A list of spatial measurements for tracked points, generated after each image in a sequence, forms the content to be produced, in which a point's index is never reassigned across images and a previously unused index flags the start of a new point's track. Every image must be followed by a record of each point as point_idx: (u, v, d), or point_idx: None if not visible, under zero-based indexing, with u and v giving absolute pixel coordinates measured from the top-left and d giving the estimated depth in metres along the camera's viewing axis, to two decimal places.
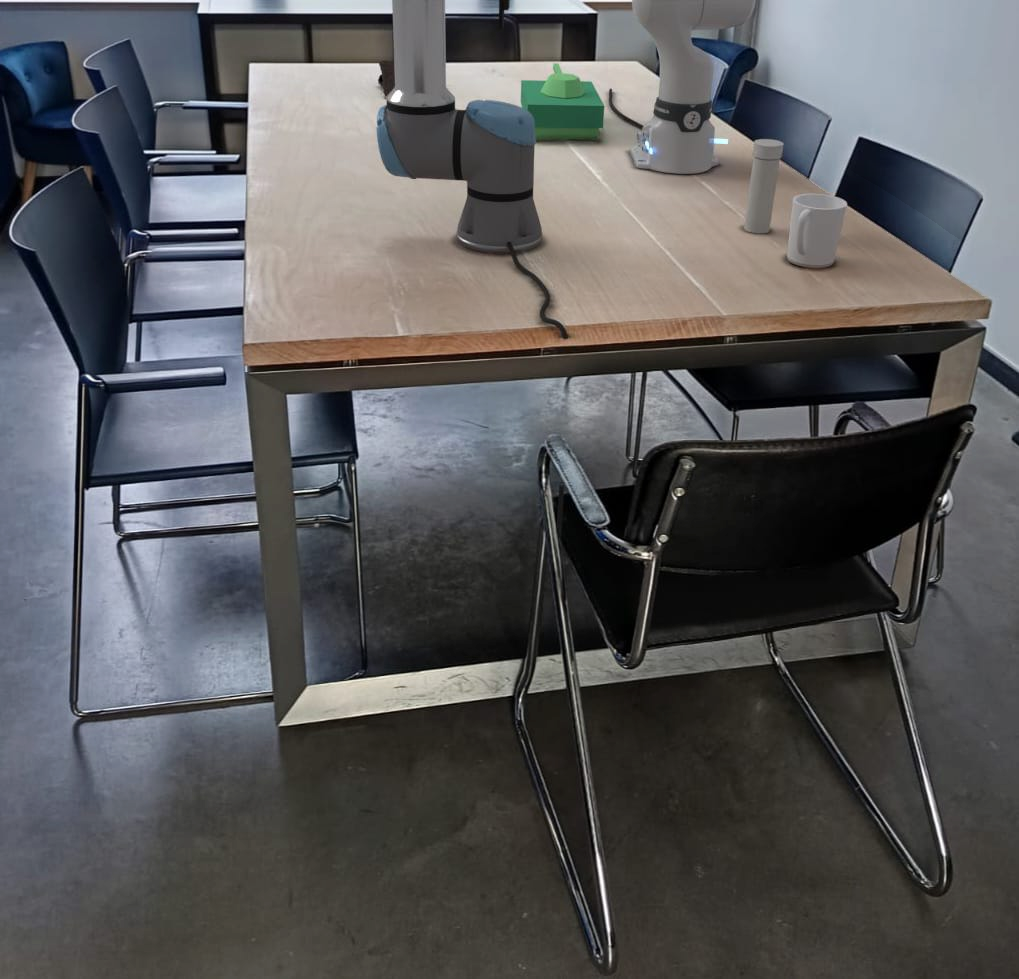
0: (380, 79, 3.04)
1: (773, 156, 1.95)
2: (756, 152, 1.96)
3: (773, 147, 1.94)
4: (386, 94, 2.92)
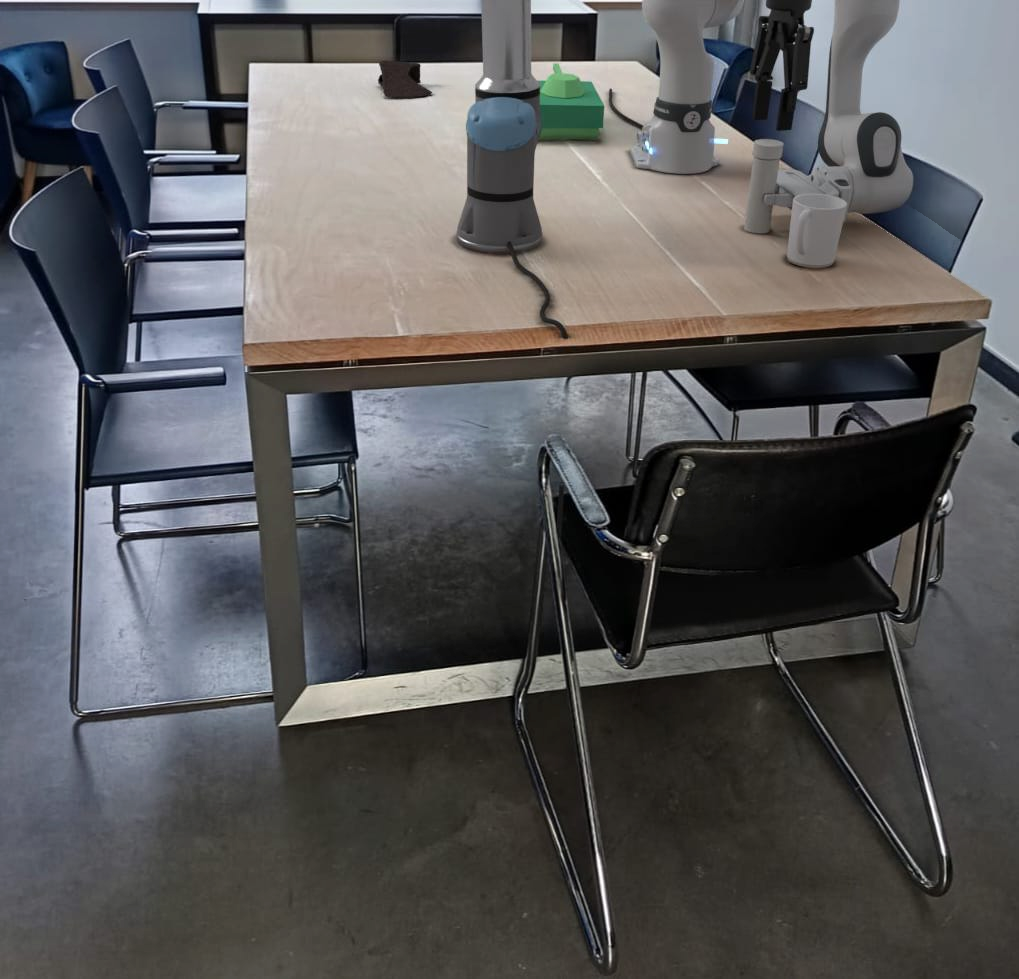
0: (380, 79, 3.04)
1: (773, 156, 1.95)
2: (756, 152, 1.96)
3: (773, 147, 1.94)
4: (386, 94, 2.92)
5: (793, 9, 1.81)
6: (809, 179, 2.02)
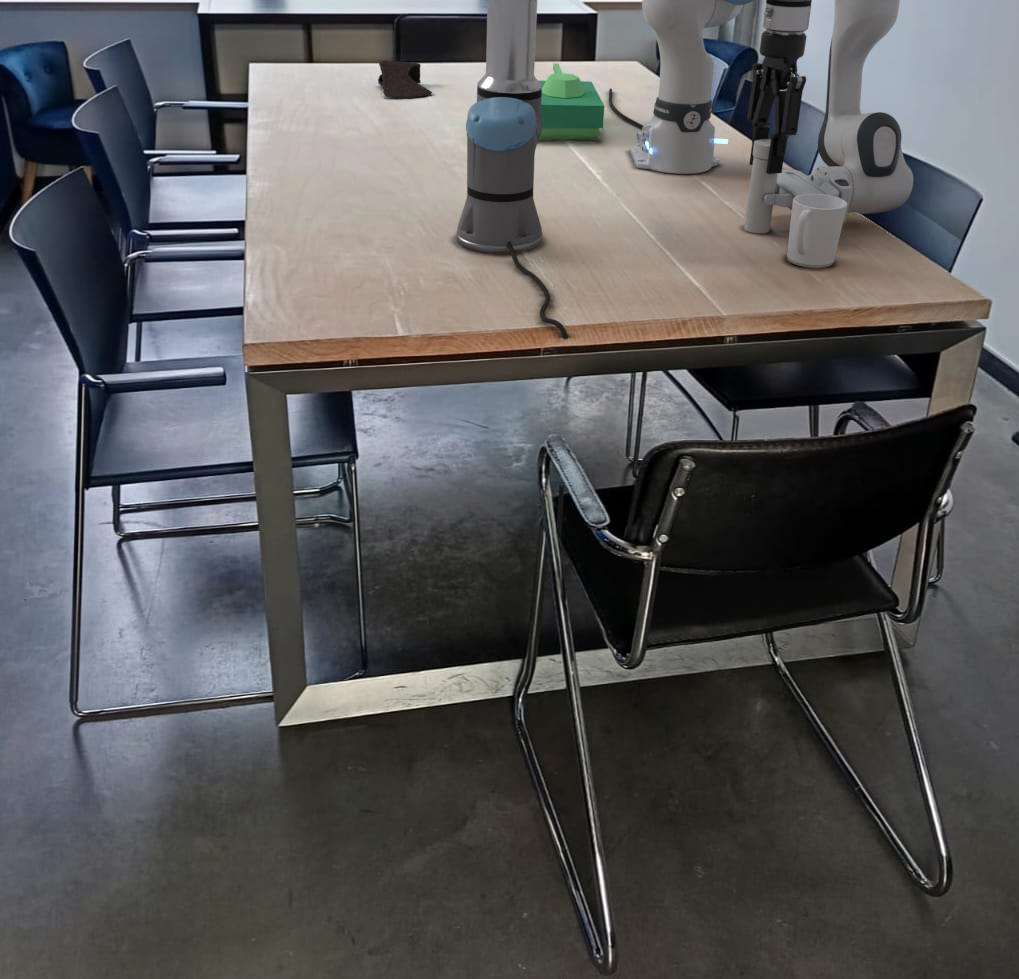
0: (380, 79, 3.04)
1: None
2: (756, 152, 1.96)
3: None
4: (386, 94, 2.92)
5: (786, 57, 1.85)
6: (809, 179, 2.02)
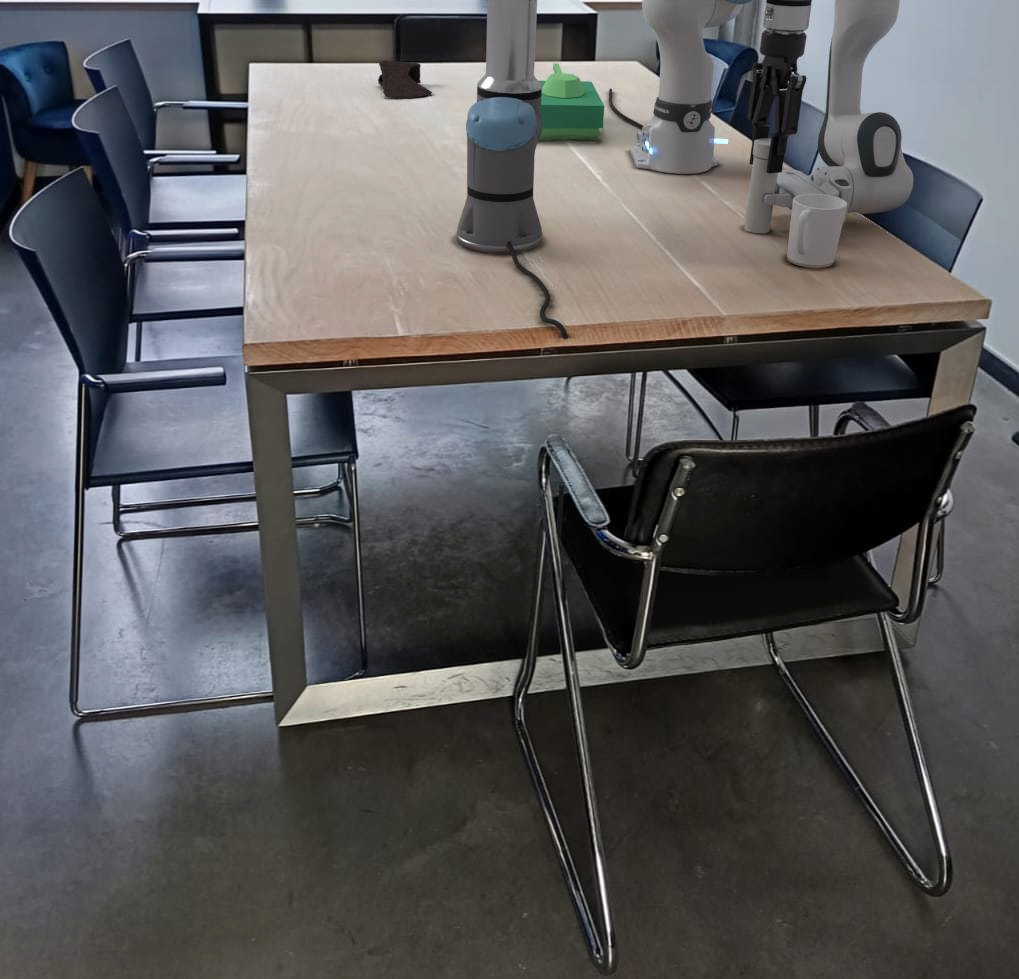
0: (380, 79, 3.04)
1: None
2: None
3: None
4: (386, 94, 2.92)
5: (786, 56, 1.85)
6: (809, 179, 2.02)
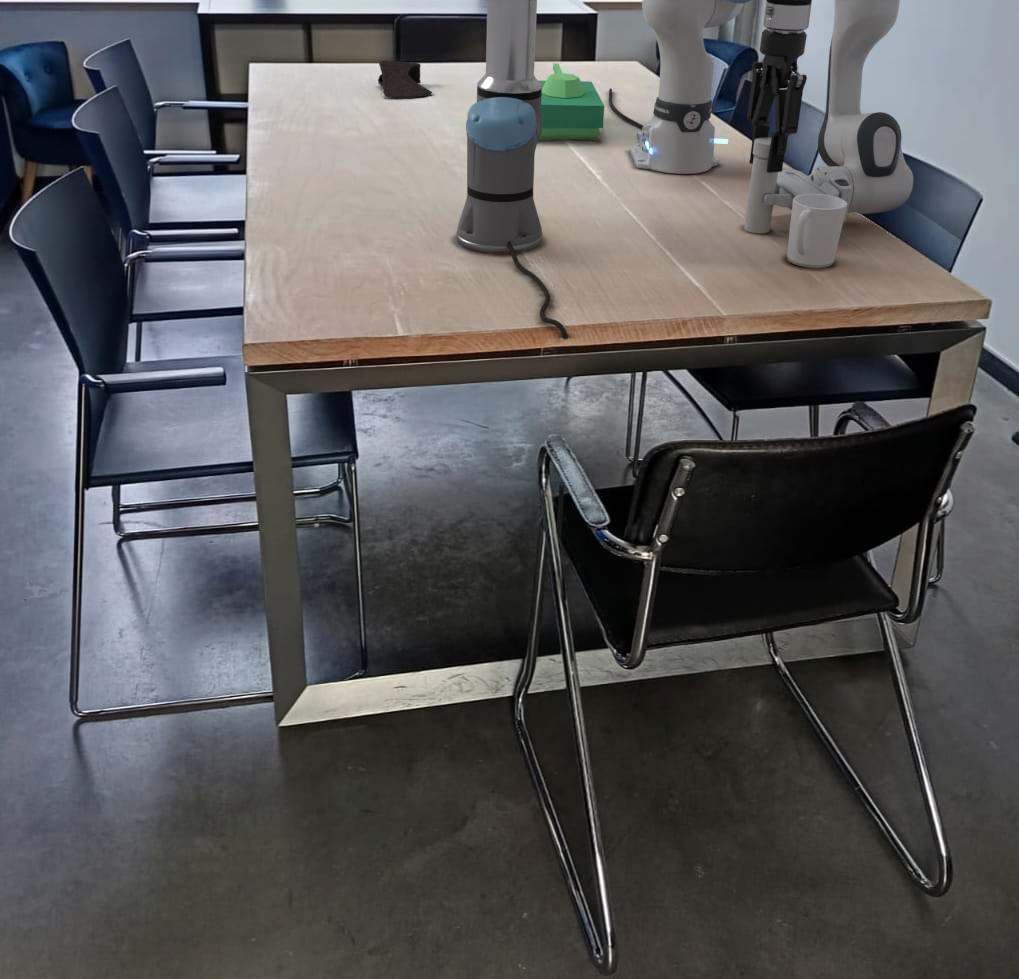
0: (380, 79, 3.04)
1: None
2: None
3: None
4: (386, 94, 2.92)
5: (787, 55, 1.85)
6: (809, 179, 2.02)
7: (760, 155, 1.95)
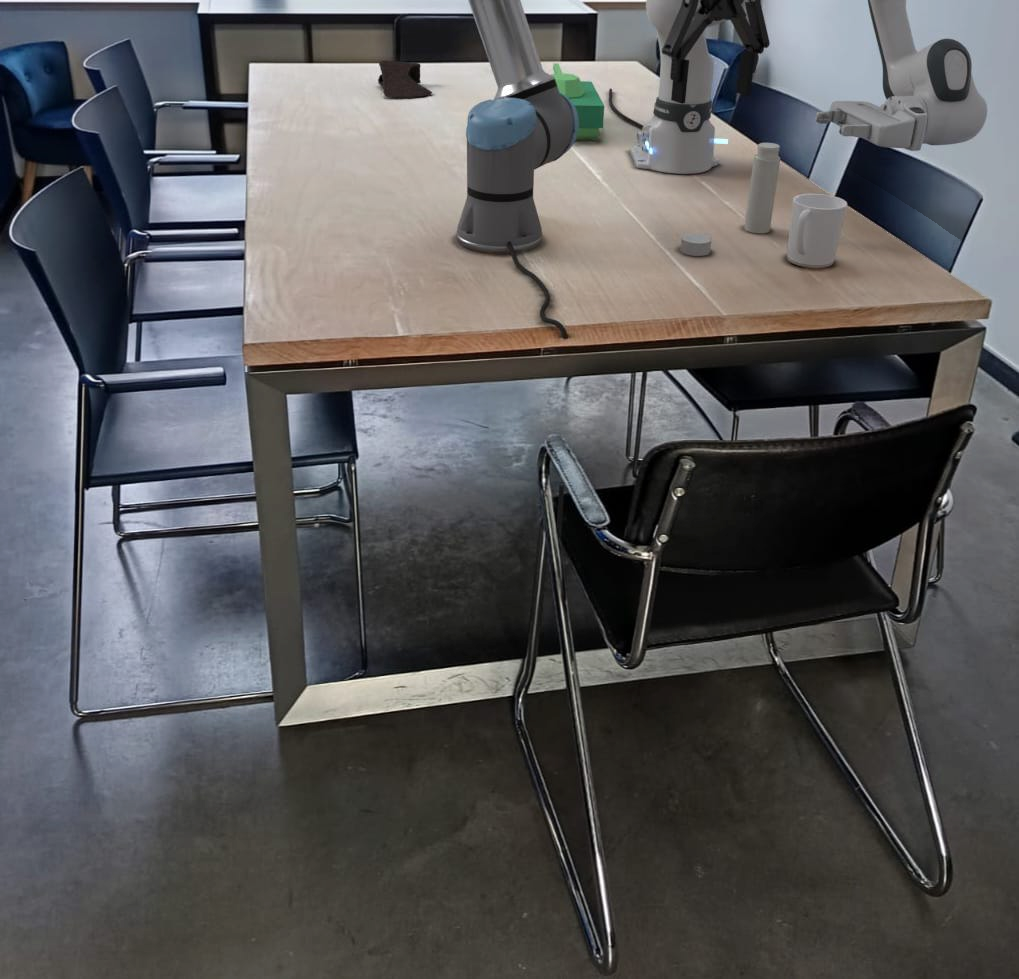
0: (380, 79, 3.04)
1: None
2: None
3: None
4: (386, 94, 2.92)
5: None
6: (882, 109, 1.98)
7: None
